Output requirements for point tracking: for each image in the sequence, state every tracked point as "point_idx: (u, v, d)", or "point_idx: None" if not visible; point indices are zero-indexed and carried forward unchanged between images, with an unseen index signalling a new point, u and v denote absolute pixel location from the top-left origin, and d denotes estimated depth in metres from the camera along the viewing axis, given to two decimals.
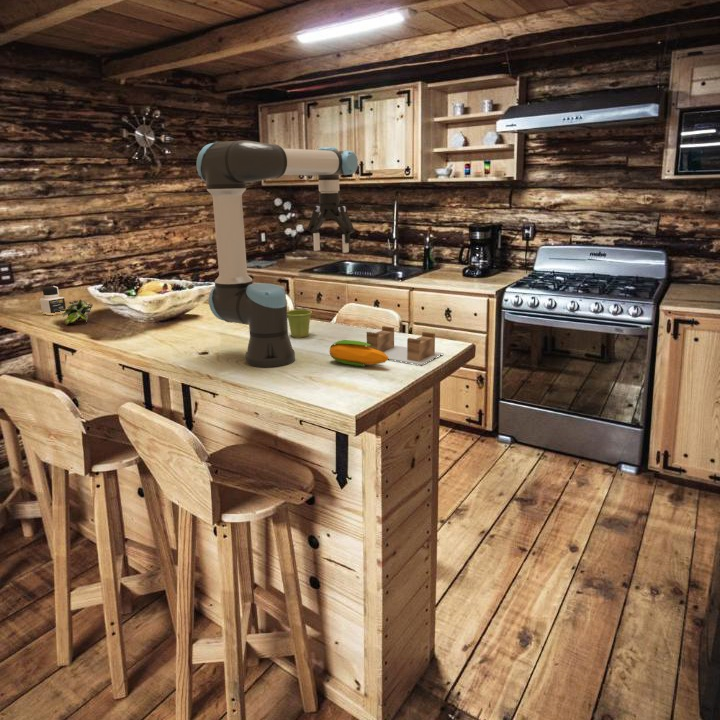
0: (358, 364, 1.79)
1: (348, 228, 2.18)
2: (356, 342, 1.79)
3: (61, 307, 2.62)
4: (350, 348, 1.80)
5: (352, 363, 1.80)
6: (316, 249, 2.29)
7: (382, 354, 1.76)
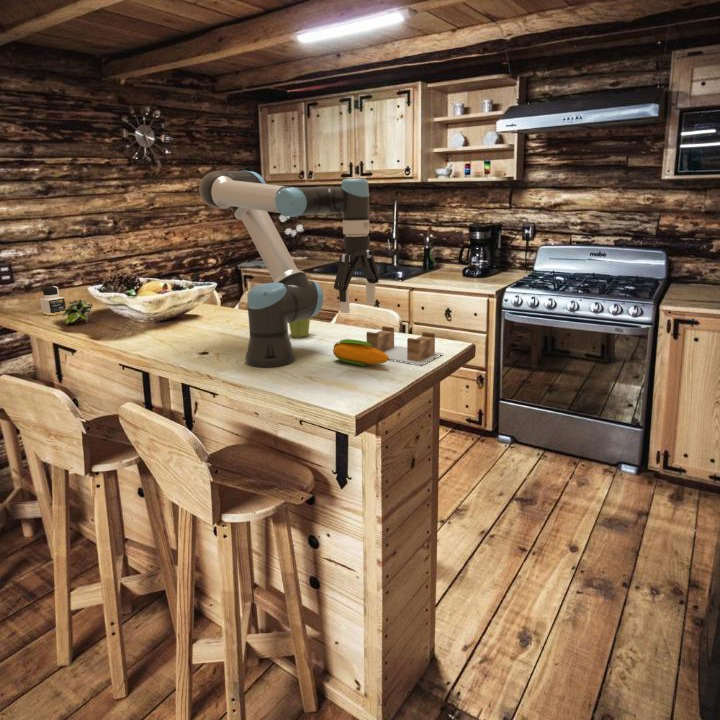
0: (359, 363, 1.80)
1: None
2: (358, 341, 1.80)
3: (61, 307, 2.62)
4: (352, 347, 1.80)
5: (354, 362, 1.81)
6: (368, 303, 1.84)
7: (382, 355, 1.76)
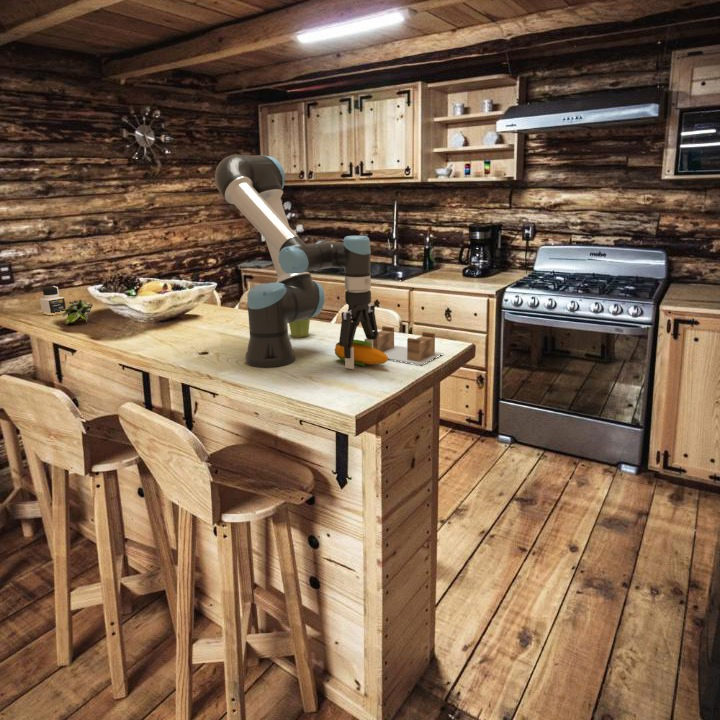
0: (359, 363, 1.80)
1: None
2: (358, 341, 1.80)
3: (61, 307, 2.62)
4: None
5: (354, 362, 1.81)
6: None
7: (381, 355, 1.76)
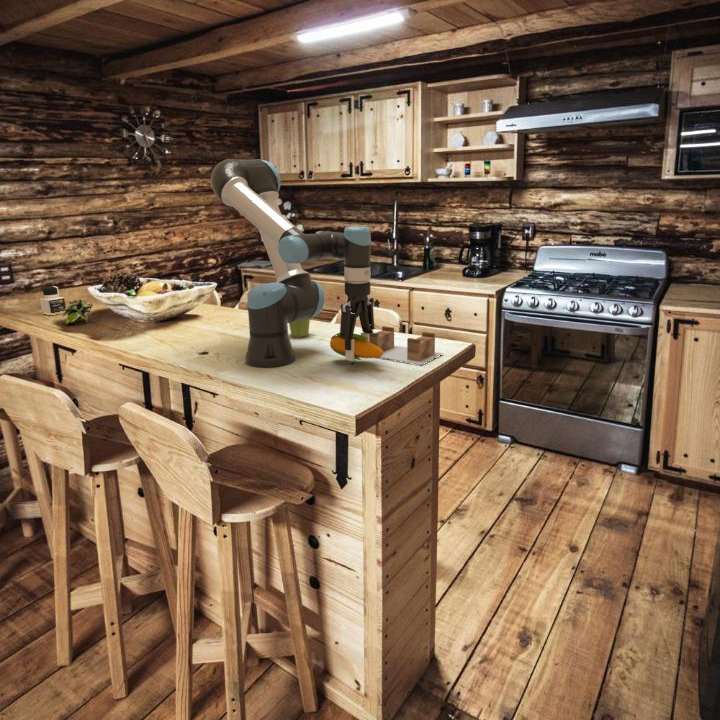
0: (354, 357, 1.79)
1: None
2: (354, 335, 1.79)
3: (61, 307, 2.62)
4: None
5: None
6: None
7: (377, 349, 1.75)
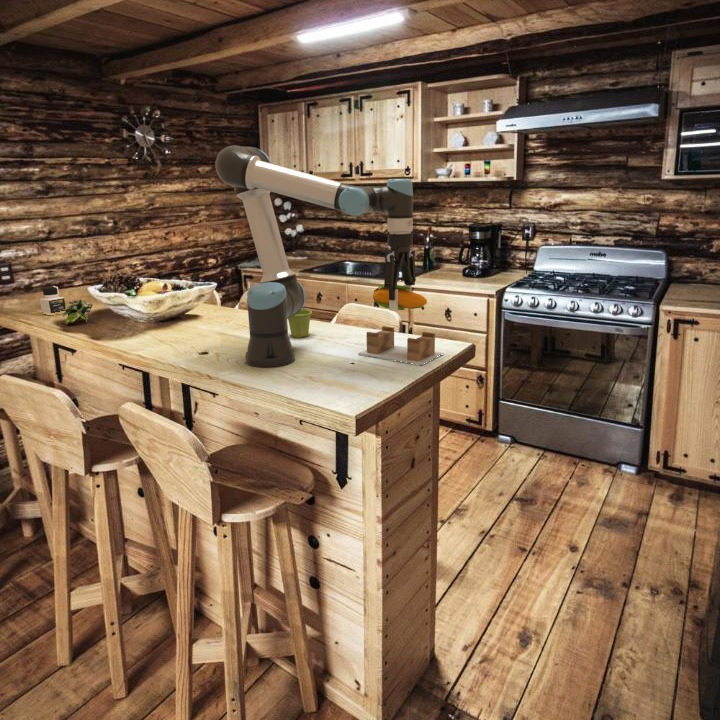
0: (398, 307, 1.84)
1: None
2: (397, 286, 1.84)
3: (61, 307, 2.62)
4: None
5: None
6: None
7: (420, 298, 1.80)
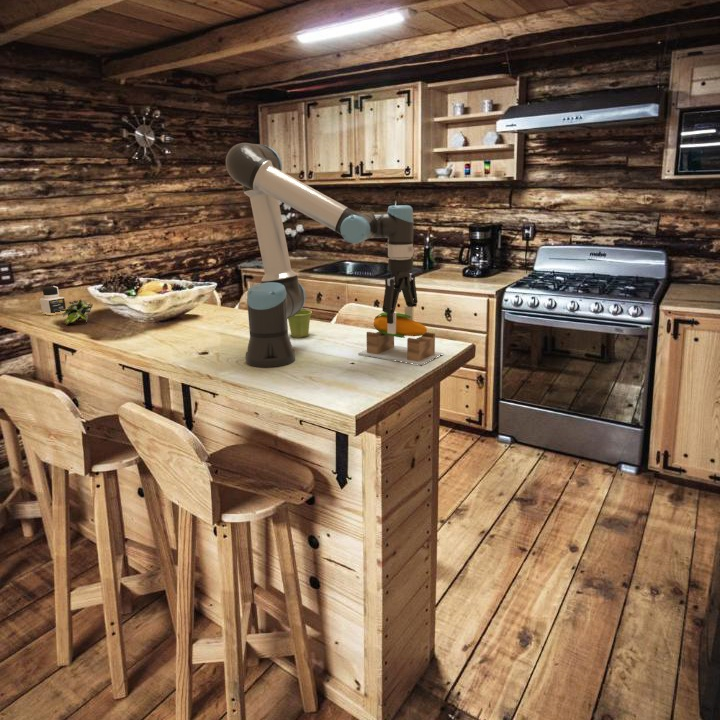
0: (398, 335, 1.87)
1: None
2: (398, 314, 1.87)
3: (61, 307, 2.62)
4: None
5: (393, 334, 1.88)
6: None
7: (421, 326, 1.83)
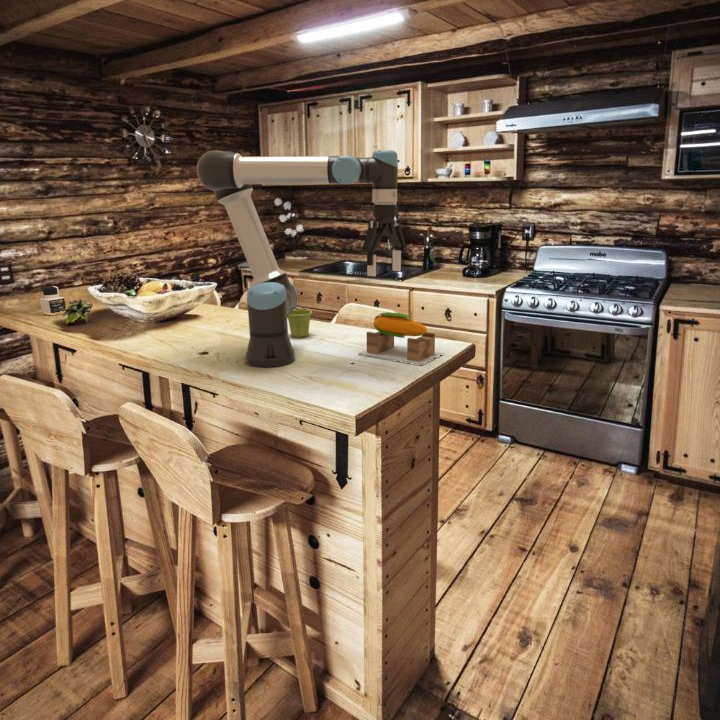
0: (398, 335, 1.87)
1: None
2: (398, 314, 1.87)
3: (61, 307, 2.62)
4: (392, 319, 1.88)
5: (393, 334, 1.88)
6: (394, 269, 1.96)
7: (421, 326, 1.83)
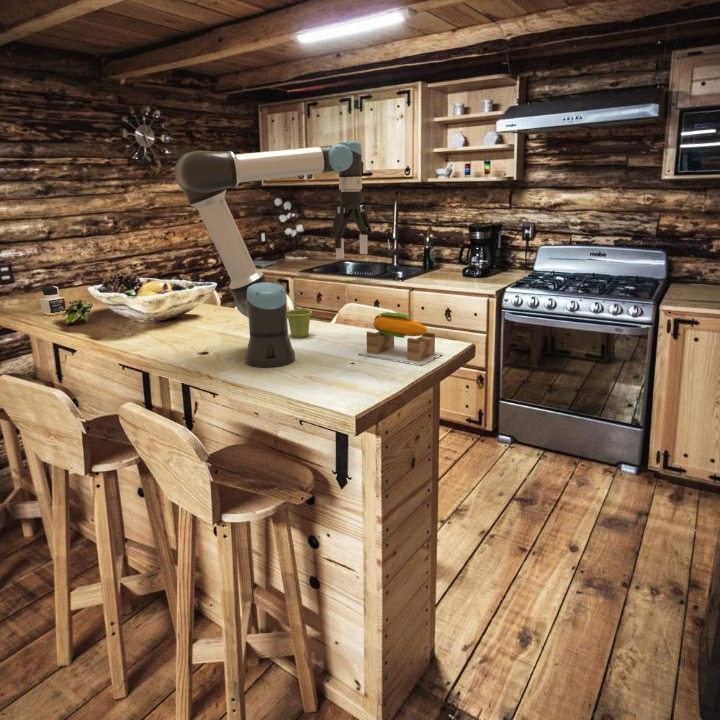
0: (398, 335, 1.87)
1: None
2: (398, 314, 1.87)
3: (61, 307, 2.62)
4: (392, 319, 1.88)
5: (393, 334, 1.88)
6: (361, 252, 2.10)
7: (421, 326, 1.83)
